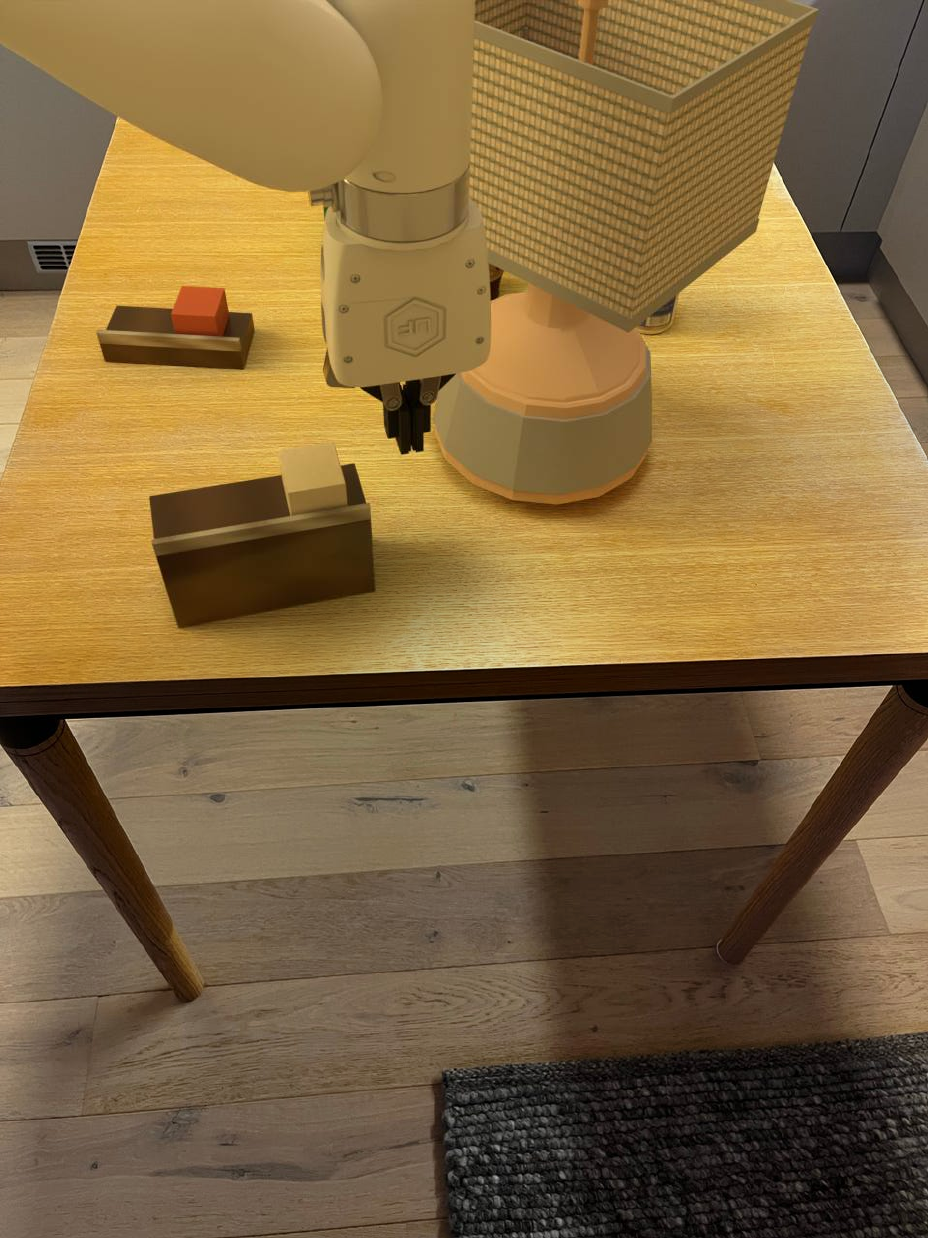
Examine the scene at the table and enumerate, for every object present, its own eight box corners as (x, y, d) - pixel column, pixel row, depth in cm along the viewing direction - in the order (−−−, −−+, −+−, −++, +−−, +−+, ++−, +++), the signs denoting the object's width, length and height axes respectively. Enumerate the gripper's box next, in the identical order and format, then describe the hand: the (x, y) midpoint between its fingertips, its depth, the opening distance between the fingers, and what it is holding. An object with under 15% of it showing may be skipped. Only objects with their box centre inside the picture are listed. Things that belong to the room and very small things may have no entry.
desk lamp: (702, 445, 89) (835, -16, 60) (575, 566, 80) (660, 89, 51) (510, 343, 97) (547, -105, 68) (375, 442, 88) (352, -29, 59)
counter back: (255, 330, 97) (250, 301, 95) (243, 369, 94) (238, 340, 91) (121, 322, 97) (113, 294, 95) (104, 361, 94) (95, 332, 91)
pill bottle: (627, 299, 102) (642, 218, 96) (677, 311, 101) (696, 230, 94) (613, 328, 99) (628, 246, 92) (665, 341, 98) (683, 259, 91)
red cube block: (229, 315, 95) (224, 287, 93) (220, 344, 92) (215, 316, 90) (187, 313, 95) (181, 285, 93) (177, 341, 92) (170, 313, 90)
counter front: (359, 536, 81) (353, 450, 74) (375, 591, 77) (370, 507, 70) (170, 569, 78) (145, 483, 71) (178, 628, 75) (151, 544, 67)
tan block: (336, 472, 74) (333, 441, 71) (348, 513, 71) (345, 483, 69) (282, 480, 73) (277, 449, 71) (292, 523, 70) (287, 492, 68)
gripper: (278, 244, 52) (311, 495, 67) (549, 210, 55) (524, 458, 70) (258, 172, 57) (292, 422, 71) (510, 144, 59) (494, 390, 74)
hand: (407, 439), depth 70 cm, fingers closed
